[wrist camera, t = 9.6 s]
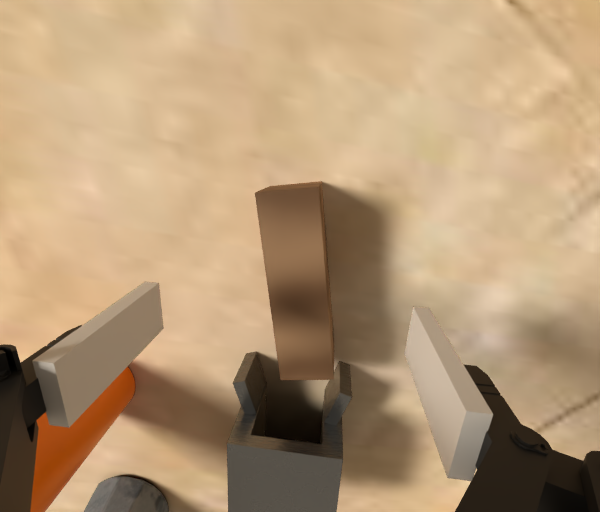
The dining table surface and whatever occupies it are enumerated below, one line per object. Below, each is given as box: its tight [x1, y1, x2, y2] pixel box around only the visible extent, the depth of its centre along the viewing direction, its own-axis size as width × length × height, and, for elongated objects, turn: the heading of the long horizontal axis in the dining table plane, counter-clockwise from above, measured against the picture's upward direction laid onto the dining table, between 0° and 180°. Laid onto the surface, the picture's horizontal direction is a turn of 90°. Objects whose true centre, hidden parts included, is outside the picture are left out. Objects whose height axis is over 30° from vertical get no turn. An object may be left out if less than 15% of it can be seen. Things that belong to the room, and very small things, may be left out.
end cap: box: [227, 352, 352, 512], centre depth 27 cm, size 11×10×7 cm
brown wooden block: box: [255, 181, 334, 380], centre depth 24 cm, size 14×4×5 cm, turn 6°
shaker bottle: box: [30, 367, 135, 512], centre depth 22 cm, size 9×9×20 cm
